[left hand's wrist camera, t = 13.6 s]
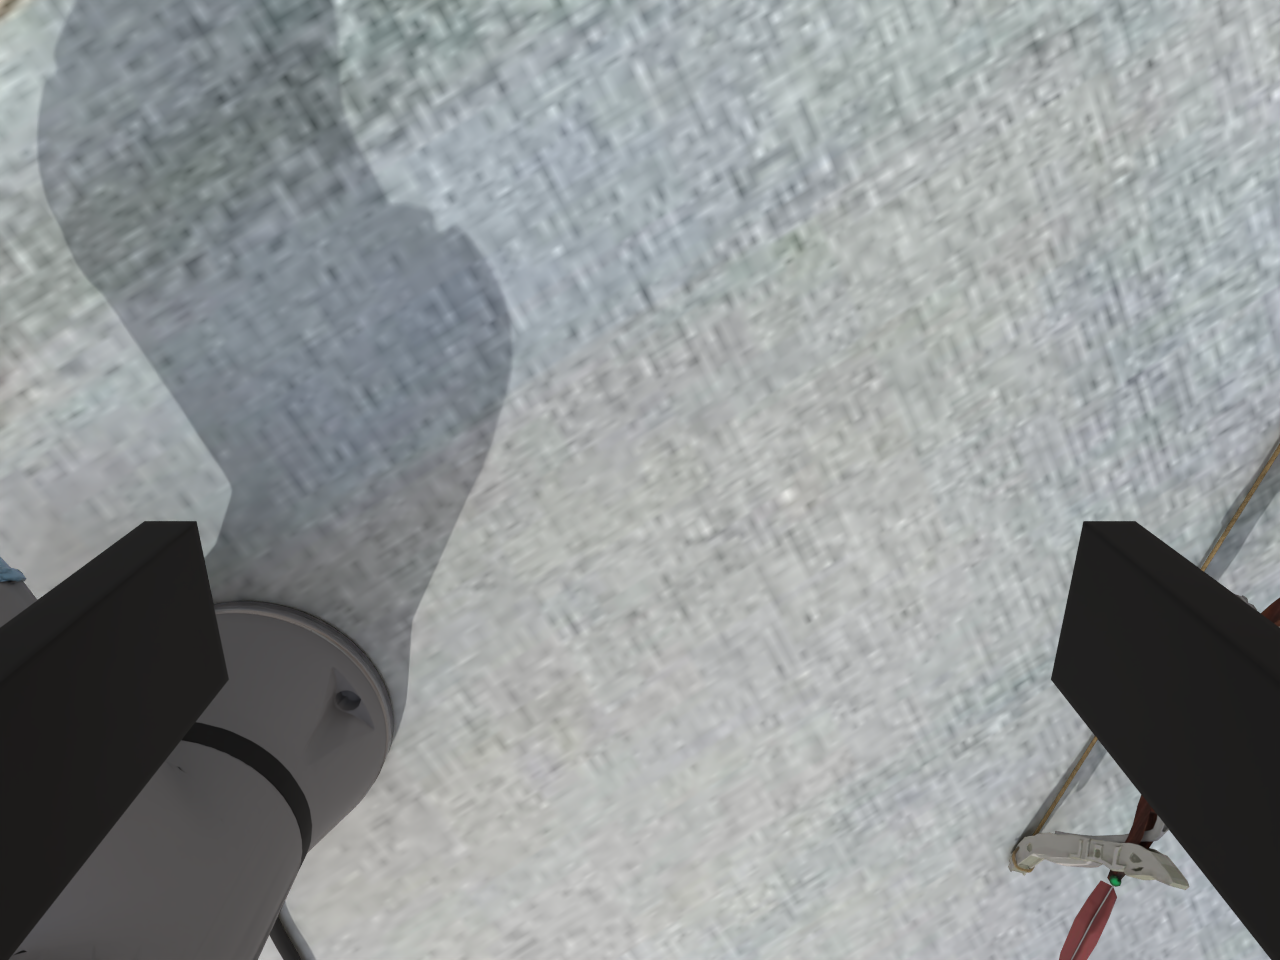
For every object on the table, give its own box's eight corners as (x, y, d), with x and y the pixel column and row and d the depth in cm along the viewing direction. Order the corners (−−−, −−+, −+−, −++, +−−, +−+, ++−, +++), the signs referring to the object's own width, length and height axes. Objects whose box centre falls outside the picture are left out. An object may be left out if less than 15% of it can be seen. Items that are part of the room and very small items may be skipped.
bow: (1330, 331, 42) (1524, 381, 33) (1361, 342, 43) (1563, 394, 33) (985, 885, 56) (1054, 1033, 46) (1010, 892, 56) (1084, 1040, 46)
